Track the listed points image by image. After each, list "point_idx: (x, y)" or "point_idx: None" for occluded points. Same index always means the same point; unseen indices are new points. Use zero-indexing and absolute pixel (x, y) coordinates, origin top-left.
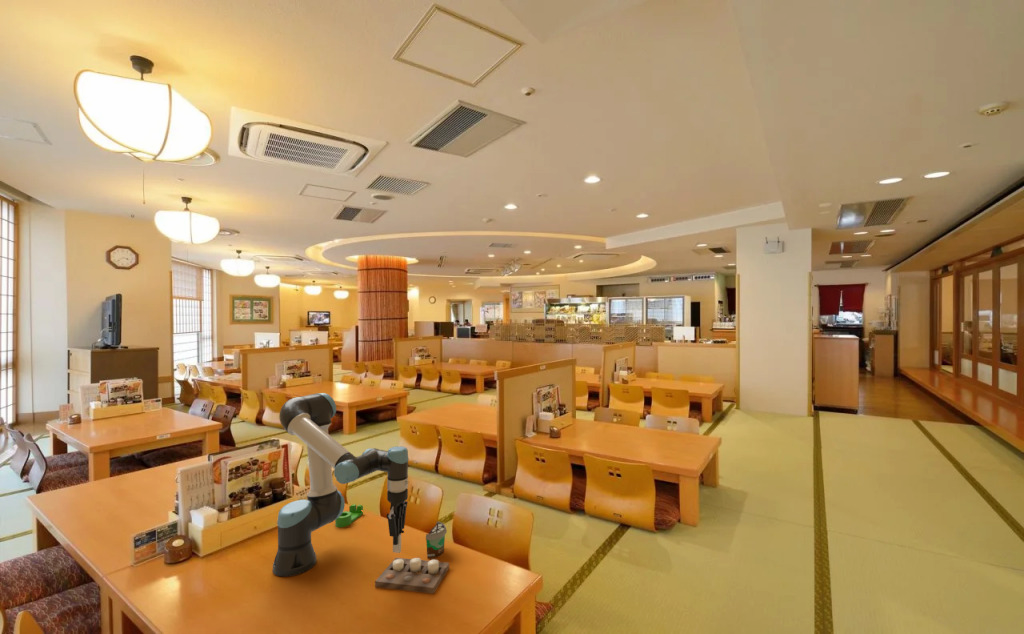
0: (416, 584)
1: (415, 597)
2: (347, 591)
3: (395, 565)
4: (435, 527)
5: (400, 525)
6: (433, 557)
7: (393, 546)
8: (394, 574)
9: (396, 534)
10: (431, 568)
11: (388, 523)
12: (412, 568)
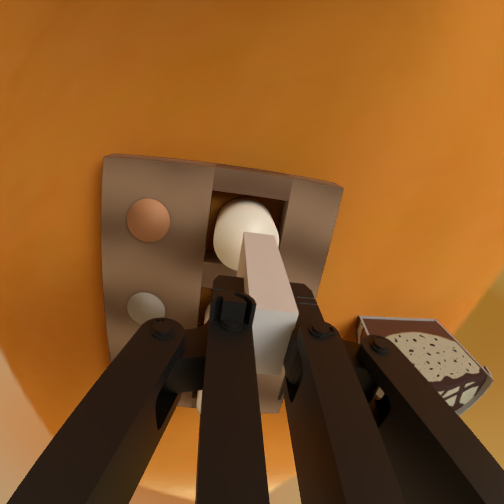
0: (117, 346)
1: (86, 336)
2: (80, 44)
3: (214, 233)
4: (457, 388)
5: (295, 441)
6: (356, 338)
7: (243, 255)
8: (170, 235)
9: (159, 397)
10: (197, 396)
11: (27, 476)
12: (204, 321)
